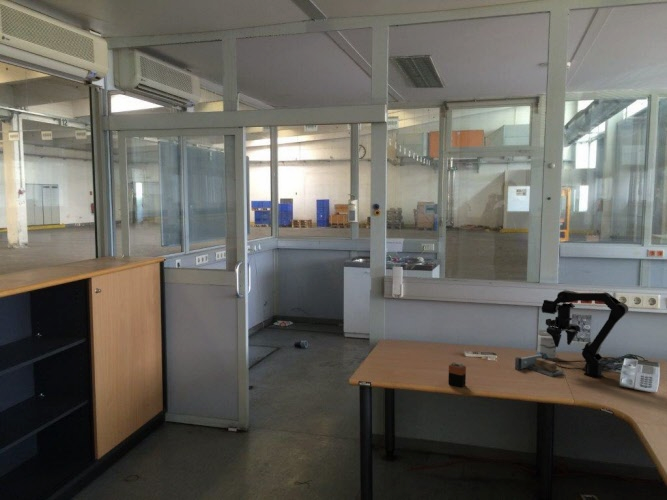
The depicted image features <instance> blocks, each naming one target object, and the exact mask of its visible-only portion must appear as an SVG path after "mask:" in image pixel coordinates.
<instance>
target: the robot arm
mask: <svg viewBox="0 0 667 500" xmlns="http://www.w3.org/2000/svg"><path fill="white" fill-rule="evenodd" d="M577 301H578V302H584V301H585V302H586V301H587V302H591V301H592V302H603V303H604V304H605V305H606V306H607V308H608V309H609V310H610V312H609V315H608V319H607V320H606V322H605V323H604V324H603V326H602V328H601V329H600V330H599V331H598V333H597V335H596V336H595V337H594V339H593V341H592V342H591V341H588V342H587V343H585V345H584V347H583V348H582V349H581V355H582V357H583V359H584V360H585V365H584V372H583V375H586V376H589V377H592V378H594V379H597V378H600V377H603V376H604V374H602V371H603V364H602V362H603V360H604V357H602V355H601V354H600V353H599V352H600V350H601V348H602V345H603V343H604V342H605V340H606V339H607V337H608V336H609V334H610V333H611V332H612V331H613V329H614V327H615V326H616V324H617V323H618V322H619V321H620V320H622V318H623V317H624V316H625V315H627V313H629V306H628V305H627V304H626V303H624V302H621V301H620V300H619V299H617V298H616V297H614V296H612V295H611V294H610V292H607V291H605V292H604V291H603V292H578V291H577V292H576V291H572V290H566V289H565V290H563V291H560V292H558V293H557V295H556V299H554V300H548V299H544V300H543V303H542V304H541V305H542V306H541V312H542V313H543V314H550V315H555V314H556V313H557V316H555V318H554V319H551V318H546V319H545V325H546V326H547V327H546V329H545V330H546V332H545V333H548V334H550V335H551V336H552V338H553V340H554V343H555V346H556V348H558V347H559V345H560V342H561V339H562V332H564V331H565V333H566V342H567V343H566V344H567V345H569V346H570V345H571V343H572V342H573V340H574V338H575V337H576V336H577V334H578V333H579V332H580V331H581V327H580V326H579V324H574V323H571V321H572V320H573V317H571V309H573V308H575V307H576V306H575V304H573V302H577Z"/></svg>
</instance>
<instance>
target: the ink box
mask: <svg viewBox="0 0 667 500" xmlns="http://www.w3.org/2000/svg"><path fill="white" fill-rule="evenodd" d="M546 330H547V329H538V334H537V351H536V352H537V354H536V355H539V354H540V353H542V352H543V353H546V359H556V356H557V355H556V354H557V347H556V346H555V343H554V340H553V338H552V336H551V335H550V334H548V333H547V332H546Z"/></svg>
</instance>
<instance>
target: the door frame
mask: <svg viewBox="0 0 667 500" xmlns="http://www.w3.org/2000/svg"><path fill="white" fill-rule="evenodd" d="M540 354H541V355H542V359H545V360H547V358H546V353H543V352H542V353H540ZM521 358H522V357H519V356H516V357H515V360H514V361H515V362H514V364H515V366H514V370H517V371H520V370H522V369H521Z"/></svg>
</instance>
